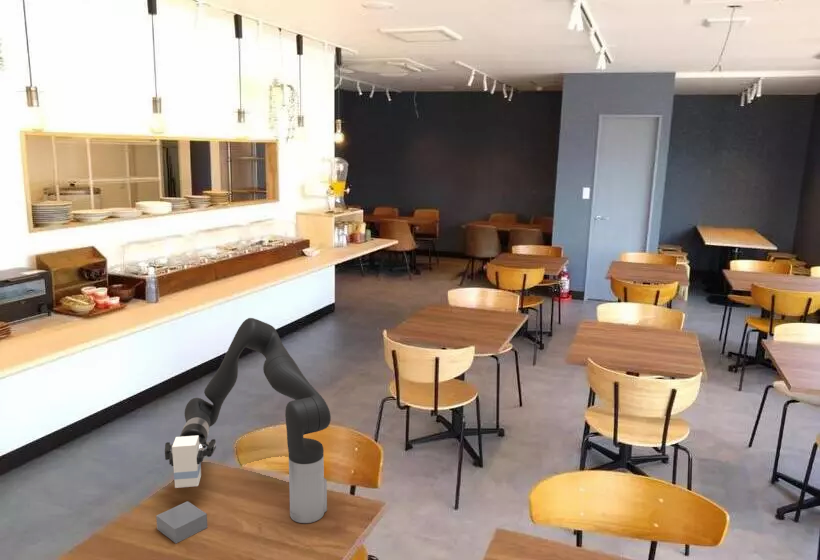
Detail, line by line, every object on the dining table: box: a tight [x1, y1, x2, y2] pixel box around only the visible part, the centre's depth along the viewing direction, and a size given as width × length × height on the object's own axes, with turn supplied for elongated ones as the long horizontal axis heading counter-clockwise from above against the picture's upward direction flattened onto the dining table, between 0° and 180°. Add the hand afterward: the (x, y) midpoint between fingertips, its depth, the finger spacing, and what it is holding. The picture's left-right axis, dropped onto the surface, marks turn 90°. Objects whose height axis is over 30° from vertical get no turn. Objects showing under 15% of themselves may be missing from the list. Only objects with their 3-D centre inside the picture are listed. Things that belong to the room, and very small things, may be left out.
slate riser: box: [155, 500, 208, 544], centre depth 165 cm, size 9×9×4 cm
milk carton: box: [172, 435, 202, 489], centre depth 173 cm, size 6×6×12 cm
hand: (185, 461), depth 171 cm, fingers closed on milk carton, 6 cm apart
